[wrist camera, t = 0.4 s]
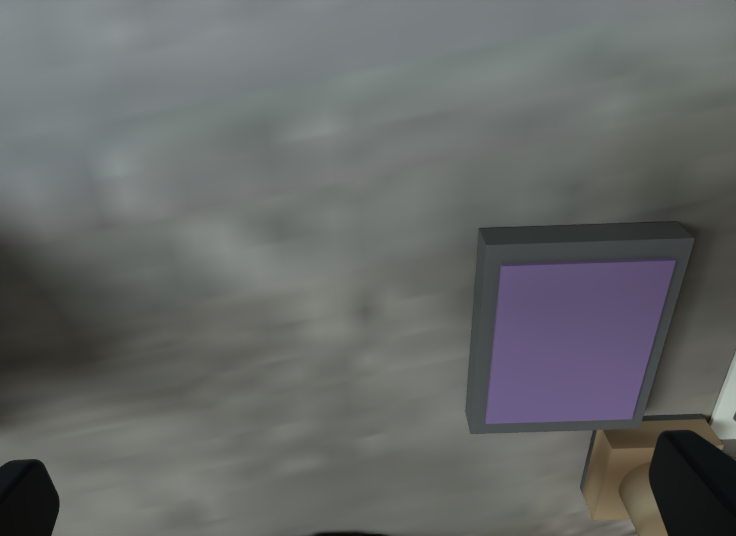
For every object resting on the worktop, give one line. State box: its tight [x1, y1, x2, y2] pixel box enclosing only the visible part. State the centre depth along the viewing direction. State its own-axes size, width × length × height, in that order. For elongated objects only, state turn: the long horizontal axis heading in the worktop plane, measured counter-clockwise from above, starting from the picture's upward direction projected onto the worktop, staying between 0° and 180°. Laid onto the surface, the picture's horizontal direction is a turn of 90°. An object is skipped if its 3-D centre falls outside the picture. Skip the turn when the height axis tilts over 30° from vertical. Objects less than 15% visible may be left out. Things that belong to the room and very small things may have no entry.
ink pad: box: [465, 222, 695, 434], centre depth 23 cm, size 10×8×2 cm
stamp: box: [580, 414, 724, 536], centre depth 25 cm, size 5×5×7 cm
